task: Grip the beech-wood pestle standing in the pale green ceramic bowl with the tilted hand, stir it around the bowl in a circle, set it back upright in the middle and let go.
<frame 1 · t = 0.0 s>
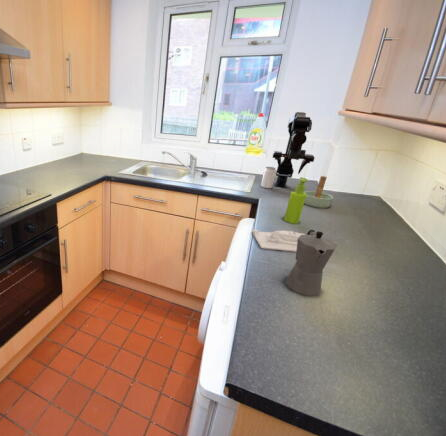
hand: (288, 172, 157), 15 cm above the countertop, tool pointing down, fingers open, 9 cm apart
soap dispenser: (291, 221, 134), on the countertop
bowl: (315, 203, 157), on the countertop
pestle: (315, 202, 156), point 1 cm above the countertop, touching bowl
beige cloth: (285, 243, 114), on the countertop
can: (266, 187, 183), on the countertop
coffeepot: (301, 285, 89), on the countertop
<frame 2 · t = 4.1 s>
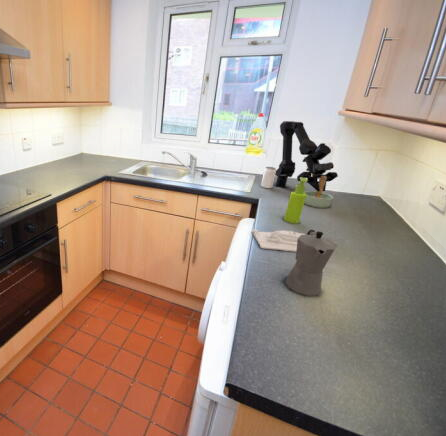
hand: (321, 191, 152), 8 cm above the countertop, tool tilted 45°, fingers closed on pestle, 2 cm apart
pestle: (315, 202, 156), point 1 cm above the countertop, touching bowl, gripper
everything else where it was.
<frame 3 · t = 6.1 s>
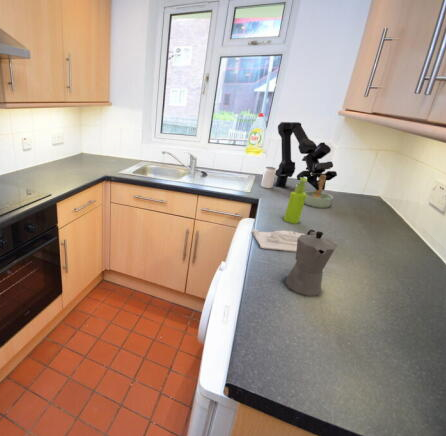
hand: (320, 189, 154), 8 cm above the countertop, tool tilted 45°, fingers closed on pestle, 2 cm apart
pestle: (315, 201, 158), point 1 cm above the countertop, touching gripper
everything else where it was.
when the fingers open (8 cm above the countertop, at t = 7.9 s): pestle stays where it is, resting on bowl.
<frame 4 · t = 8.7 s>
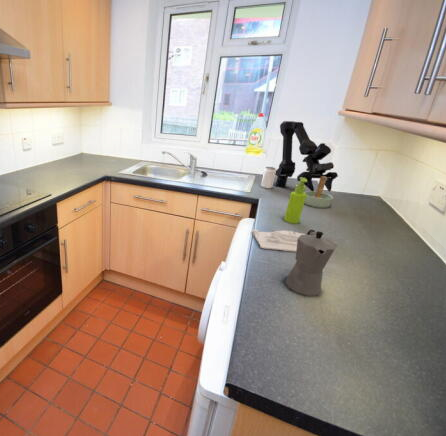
hand: (321, 191, 152), 8 cm above the countertop, tool tilted 45°, fingers open, 9 cm apart
pestle: (315, 202, 156), point 1 cm above the countertop, touching bowl
everything else where it was.
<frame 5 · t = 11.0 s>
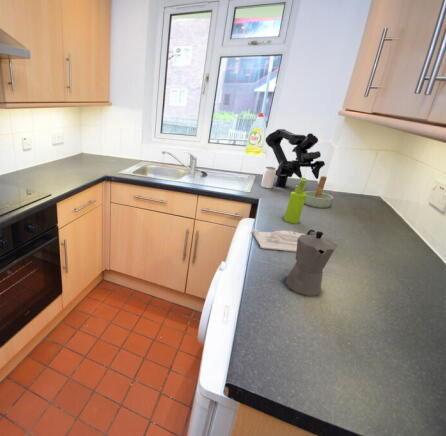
hand: (309, 178, 161), 11 cm above the countertop, tool tilted 45°, fingers open, 9 cm apart
nothing on the countertop moved.
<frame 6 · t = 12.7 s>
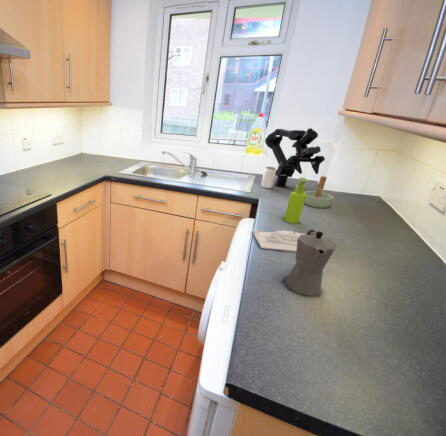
hand: (309, 173, 161), 14 cm above the countertop, tool tilted 45°, fingers open, 9 cm apart
nothing on the countertop moved.
at the end: pestle 0.2 cm off-centre in the bowl, point 0.8 cm above the bowl's base; pestle tilted 0°; the gripper is holding nothing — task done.
